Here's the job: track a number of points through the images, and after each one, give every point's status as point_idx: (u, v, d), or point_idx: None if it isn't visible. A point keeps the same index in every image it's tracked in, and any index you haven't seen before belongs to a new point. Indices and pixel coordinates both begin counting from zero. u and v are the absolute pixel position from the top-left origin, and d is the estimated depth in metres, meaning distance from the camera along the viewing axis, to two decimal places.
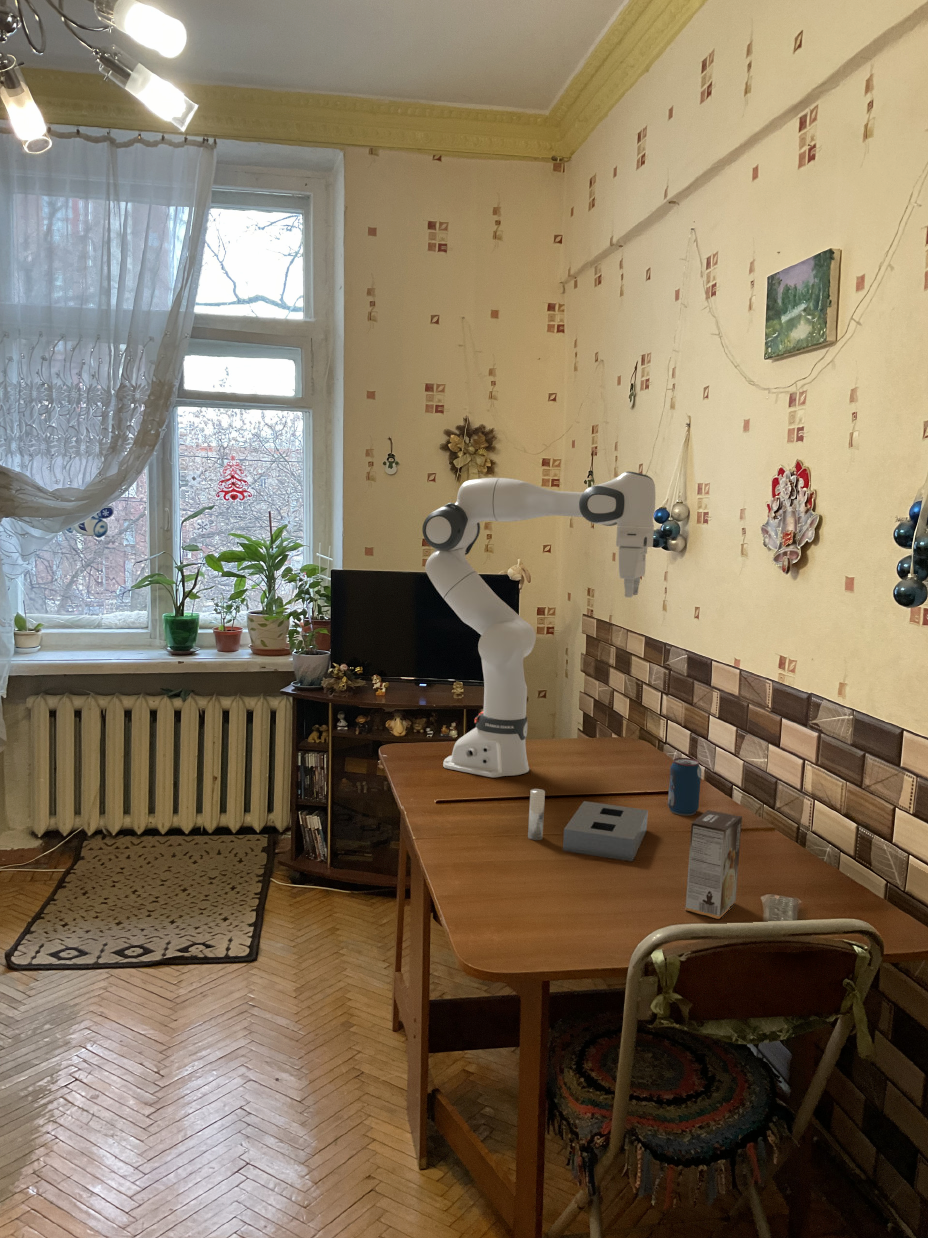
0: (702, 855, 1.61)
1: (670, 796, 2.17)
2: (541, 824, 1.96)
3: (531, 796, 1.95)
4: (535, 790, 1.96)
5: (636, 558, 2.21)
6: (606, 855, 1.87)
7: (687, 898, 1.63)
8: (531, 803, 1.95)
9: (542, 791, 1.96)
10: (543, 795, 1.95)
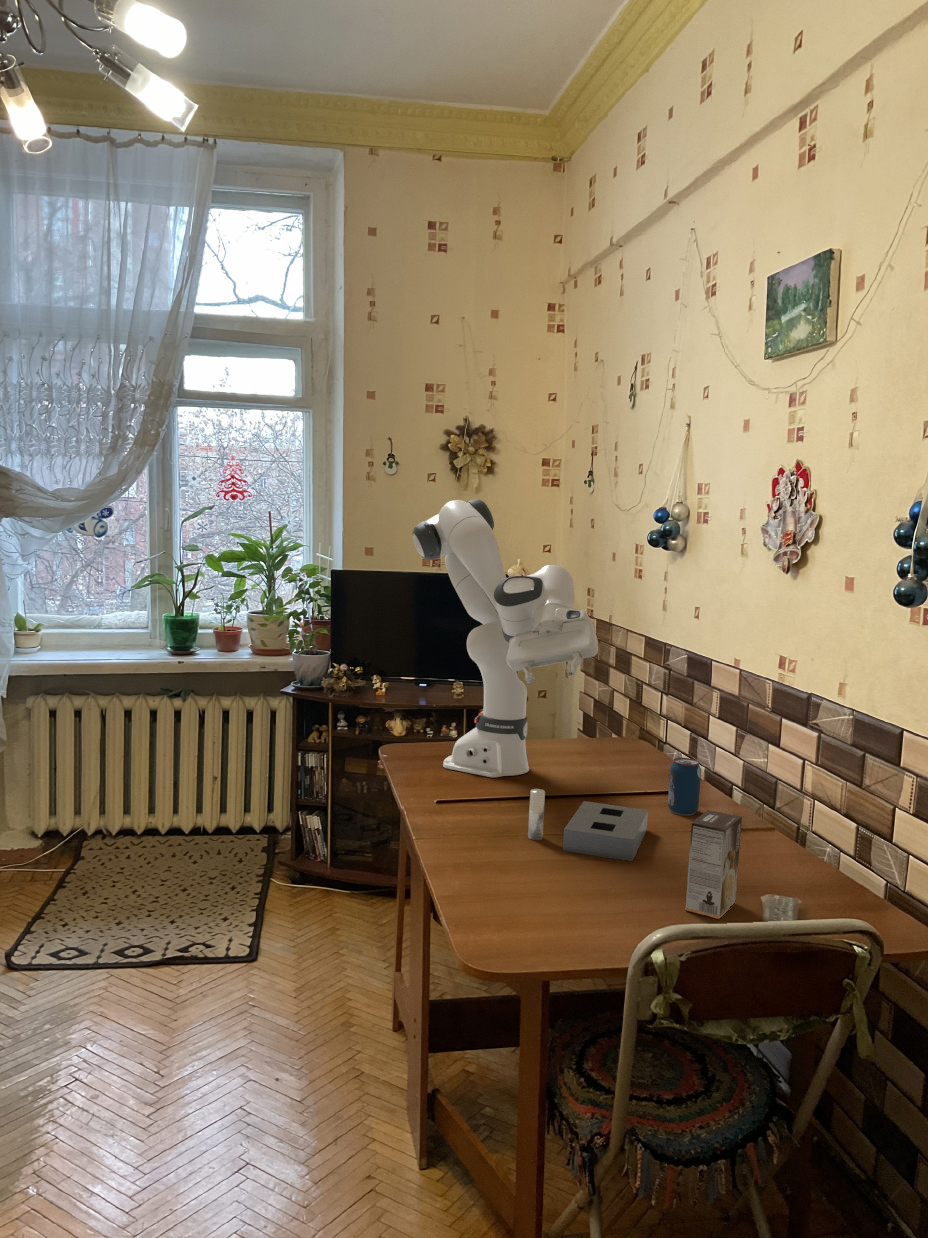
0: (702, 855, 1.61)
1: (670, 796, 2.17)
2: (541, 824, 1.96)
3: (531, 796, 1.95)
4: (535, 790, 1.96)
5: None
6: (606, 855, 1.87)
7: (687, 898, 1.63)
8: (531, 803, 1.95)
9: (542, 791, 1.96)
10: (543, 795, 1.95)
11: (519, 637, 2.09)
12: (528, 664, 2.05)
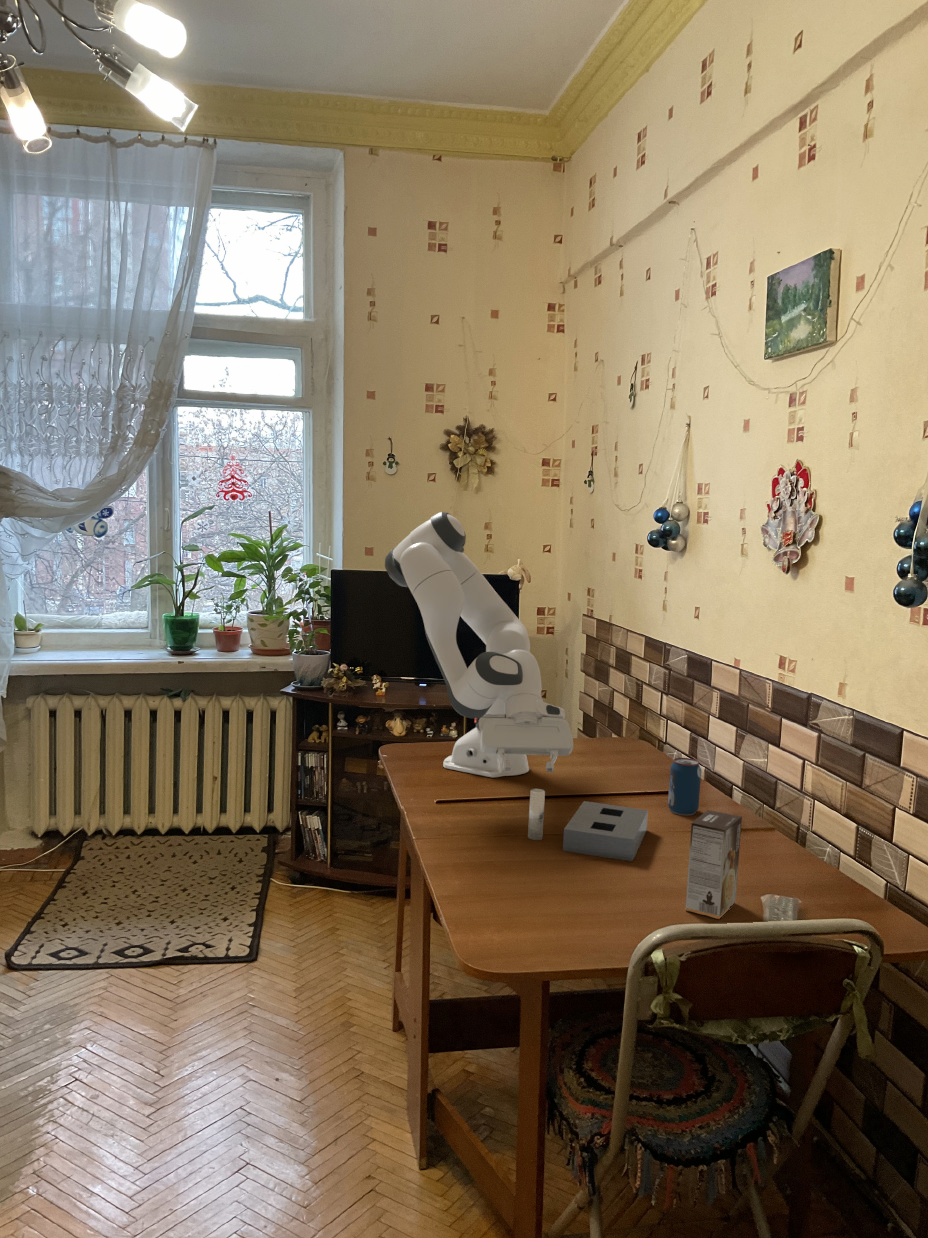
0: (702, 855, 1.61)
1: (670, 796, 2.17)
2: (541, 824, 1.96)
3: (531, 796, 1.95)
4: (535, 790, 1.96)
5: None
6: (606, 855, 1.87)
7: (687, 898, 1.63)
8: (531, 803, 1.95)
9: (542, 791, 1.96)
10: (543, 795, 1.95)
11: (494, 720, 2.08)
12: (503, 751, 2.05)
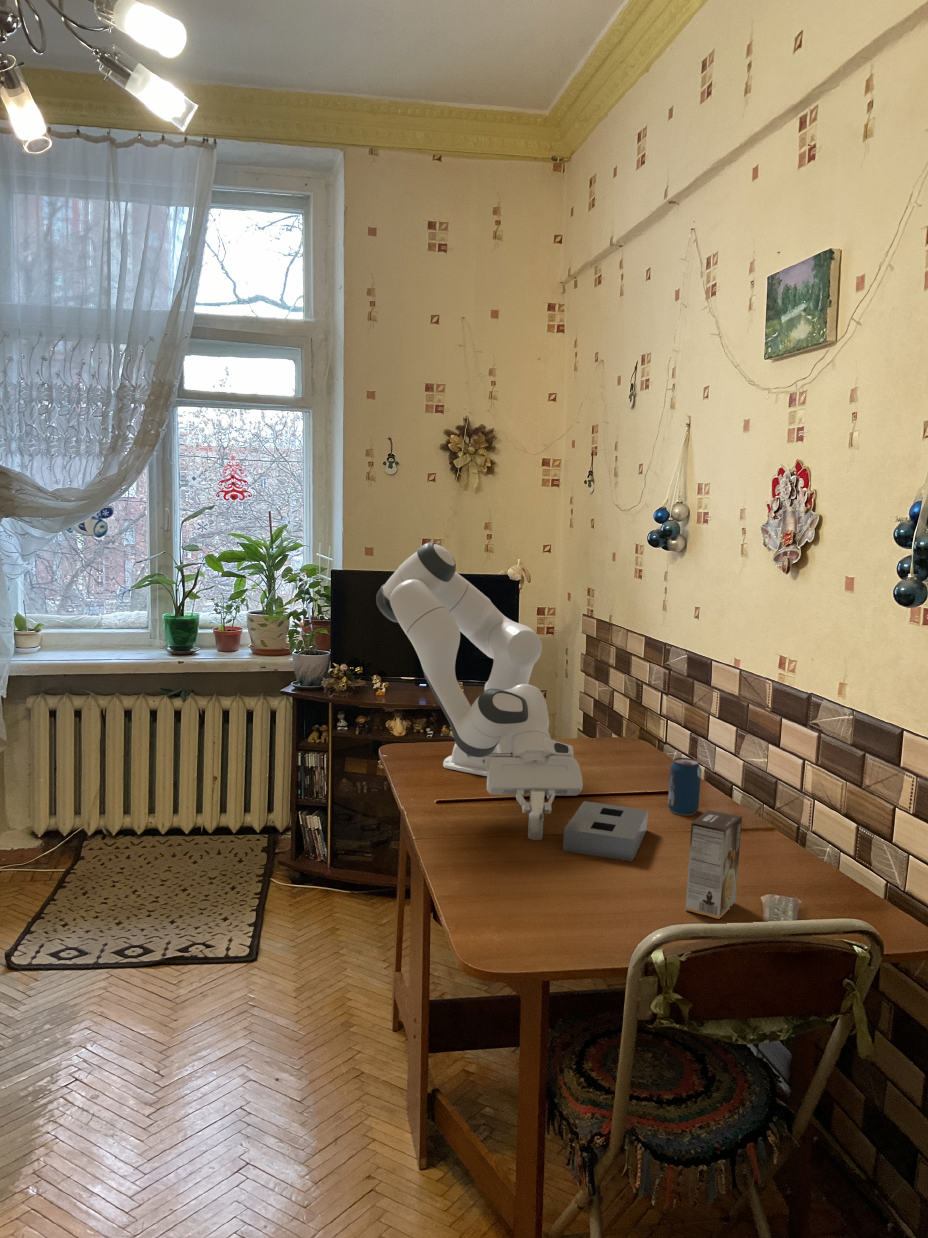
0: (702, 855, 1.61)
1: (670, 796, 2.17)
2: (541, 824, 1.96)
3: (531, 796, 1.95)
4: (535, 790, 1.96)
5: None
6: (606, 855, 1.87)
7: (687, 898, 1.63)
8: (531, 803, 1.95)
9: (542, 791, 1.96)
10: (543, 795, 1.95)
11: (500, 759, 2.00)
12: None
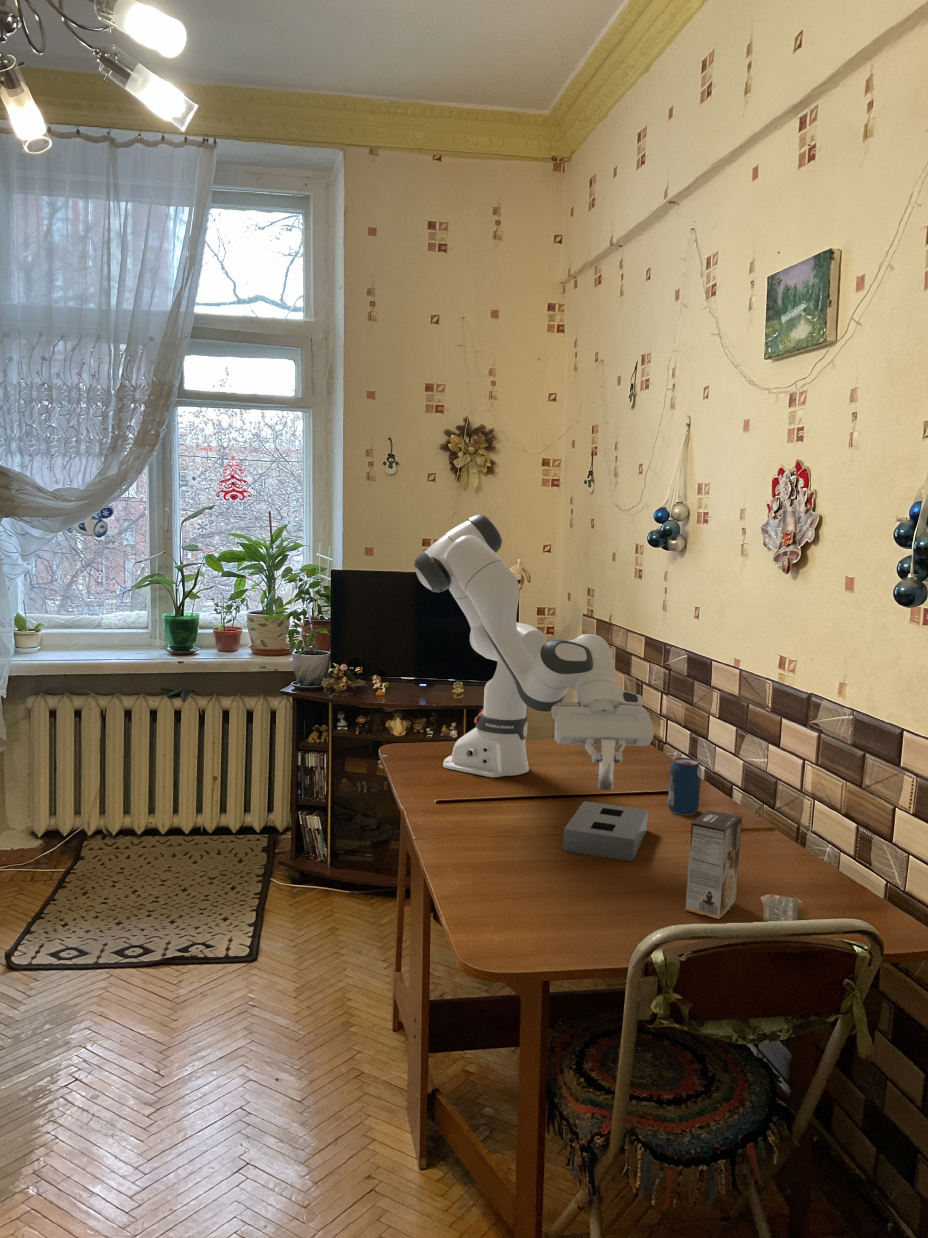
0: (702, 855, 1.61)
1: (670, 796, 2.17)
2: (612, 774, 1.90)
3: (602, 745, 1.89)
4: (605, 739, 1.90)
5: None
6: (606, 855, 1.87)
7: (687, 898, 1.63)
8: (602, 752, 1.89)
9: (613, 740, 1.90)
10: (614, 744, 1.89)
11: (568, 708, 1.95)
12: None
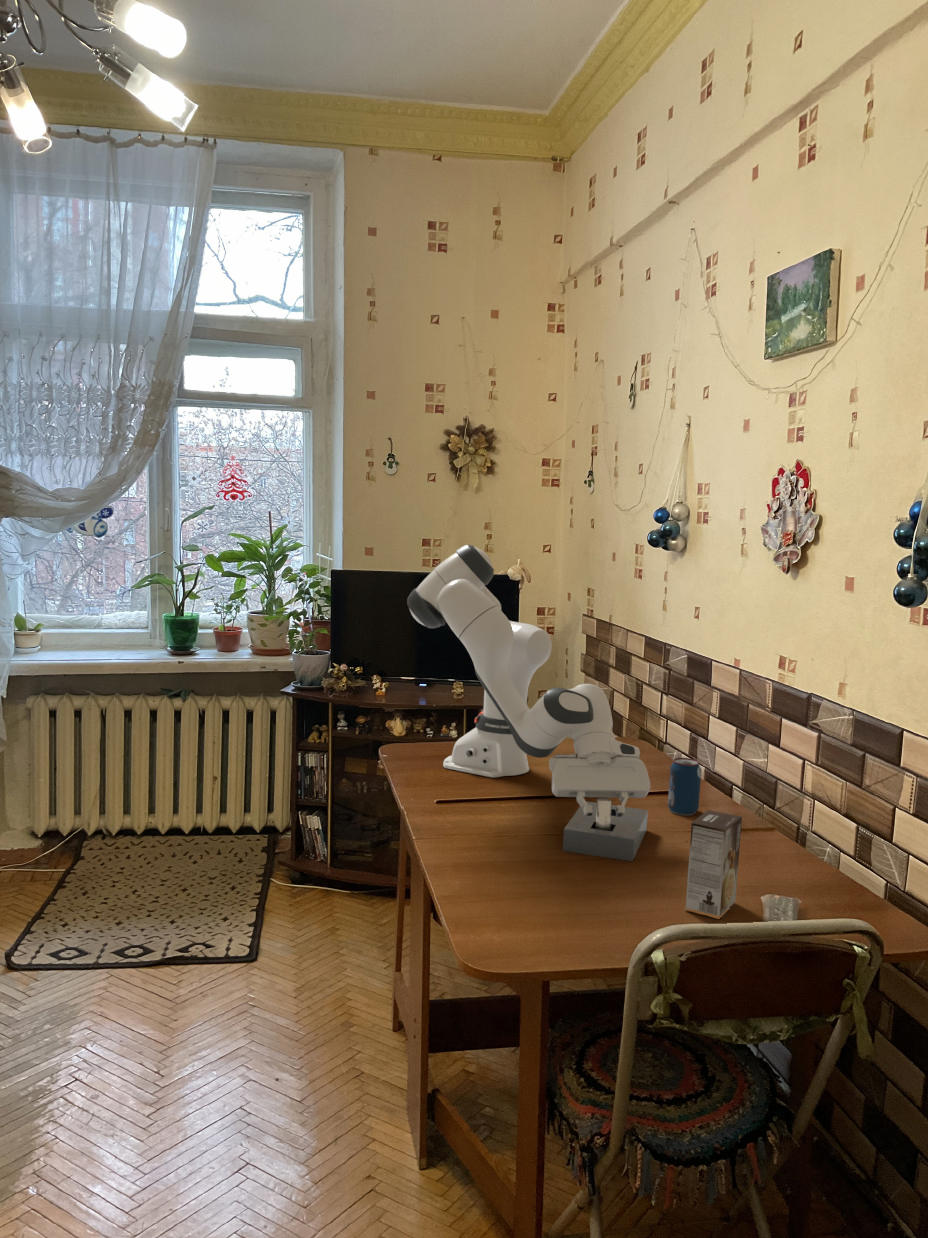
0: (702, 855, 1.61)
1: (670, 796, 2.17)
2: None
3: (598, 806, 1.91)
4: (601, 799, 1.92)
5: None
6: (606, 855, 1.87)
7: (687, 898, 1.63)
8: (598, 813, 1.91)
9: (609, 800, 1.91)
10: (610, 804, 1.91)
11: (565, 761, 1.96)
12: None
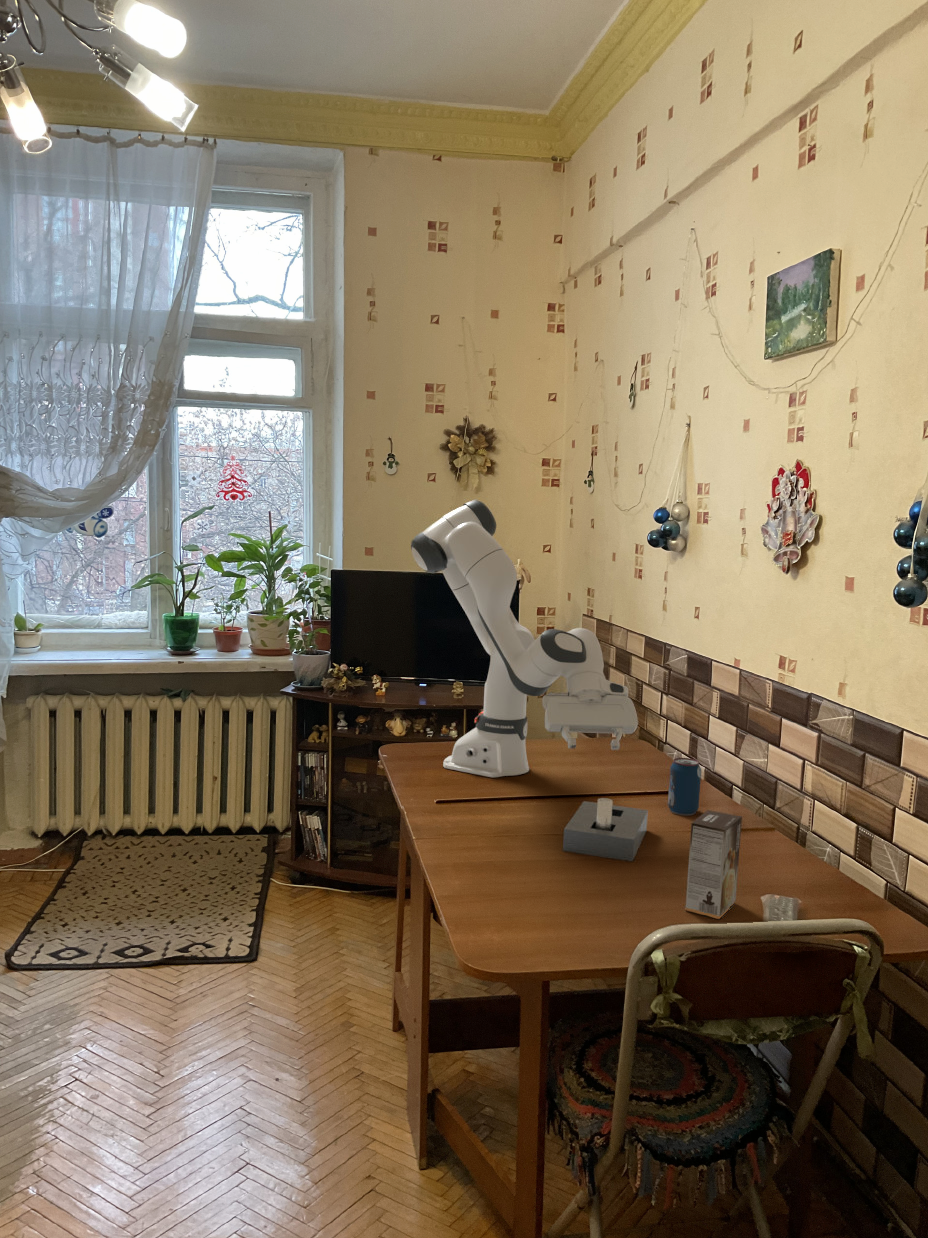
0: (702, 855, 1.61)
1: (670, 796, 2.17)
2: None
3: (599, 806, 1.91)
4: (602, 799, 1.92)
5: None
6: (606, 855, 1.87)
7: (687, 898, 1.63)
8: (599, 813, 1.91)
9: (610, 800, 1.91)
10: (611, 805, 1.91)
11: (558, 698, 2.07)
12: (568, 728, 2.05)
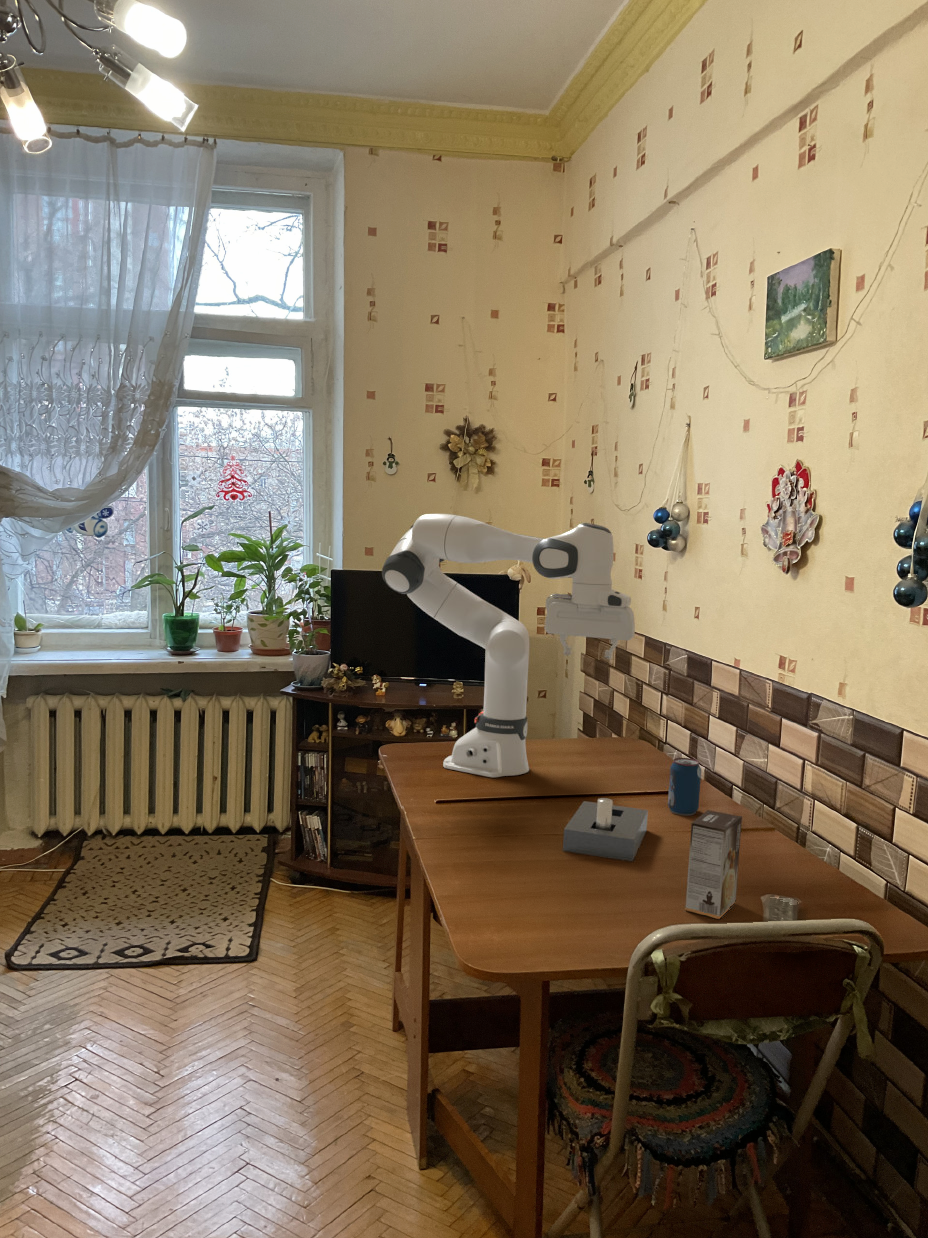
0: (702, 855, 1.61)
1: (670, 796, 2.17)
2: None
3: (599, 806, 1.91)
4: (602, 799, 1.92)
5: (633, 617, 2.13)
6: (606, 855, 1.87)
7: (687, 898, 1.63)
8: (599, 813, 1.91)
9: (610, 800, 1.91)
10: (611, 805, 1.91)
11: (557, 605, 2.14)
12: (566, 635, 2.16)
